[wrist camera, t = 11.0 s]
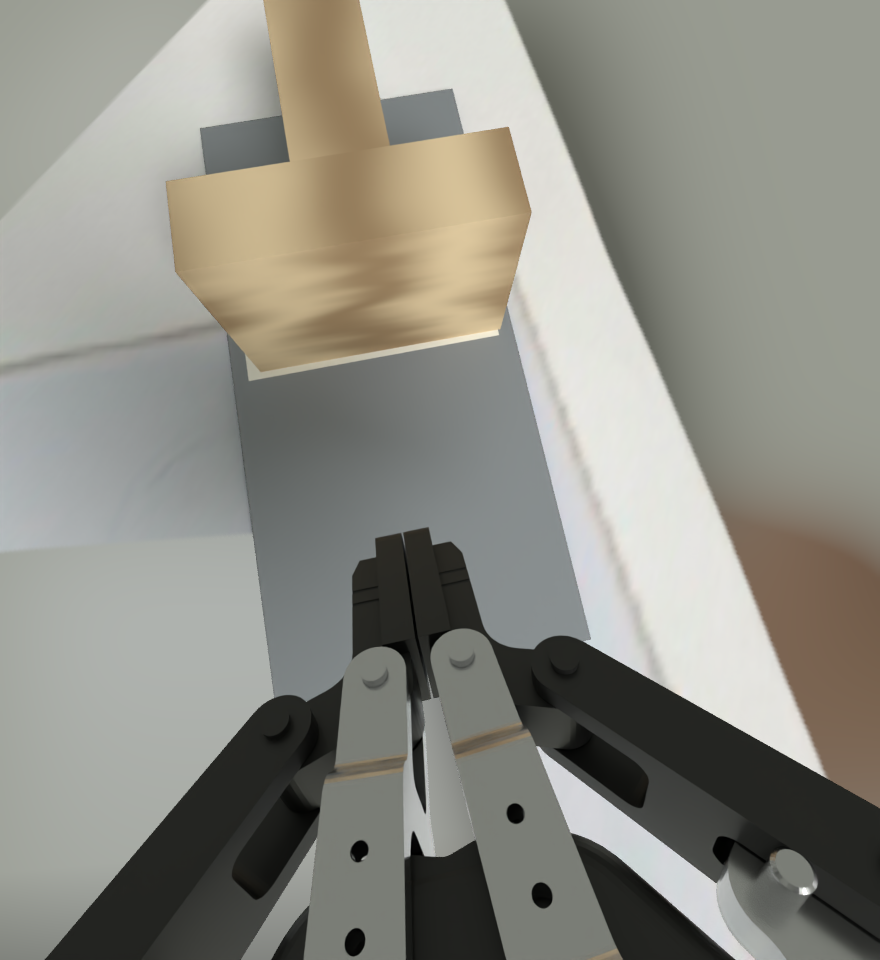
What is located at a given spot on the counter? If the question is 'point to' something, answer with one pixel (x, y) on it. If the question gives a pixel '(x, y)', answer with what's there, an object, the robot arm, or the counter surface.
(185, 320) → the counter surface
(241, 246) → the oak T block
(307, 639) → the slate mat
